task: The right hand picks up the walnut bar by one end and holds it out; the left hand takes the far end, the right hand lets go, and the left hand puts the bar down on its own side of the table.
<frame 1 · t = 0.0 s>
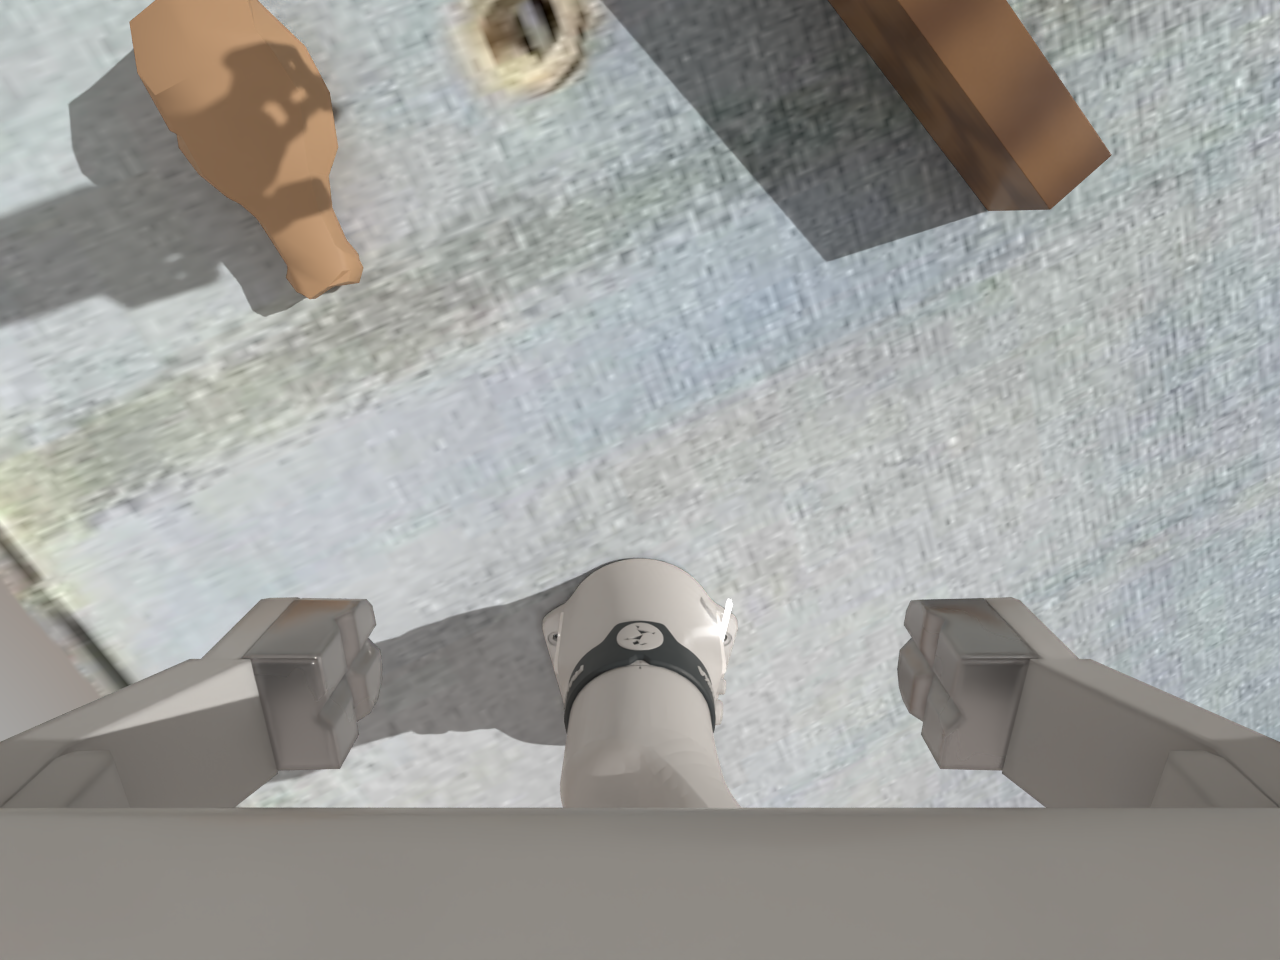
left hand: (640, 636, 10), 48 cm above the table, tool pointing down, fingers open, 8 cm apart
squash: (296, 157, 52), on the table
bar: (902, 38, 49), on the table
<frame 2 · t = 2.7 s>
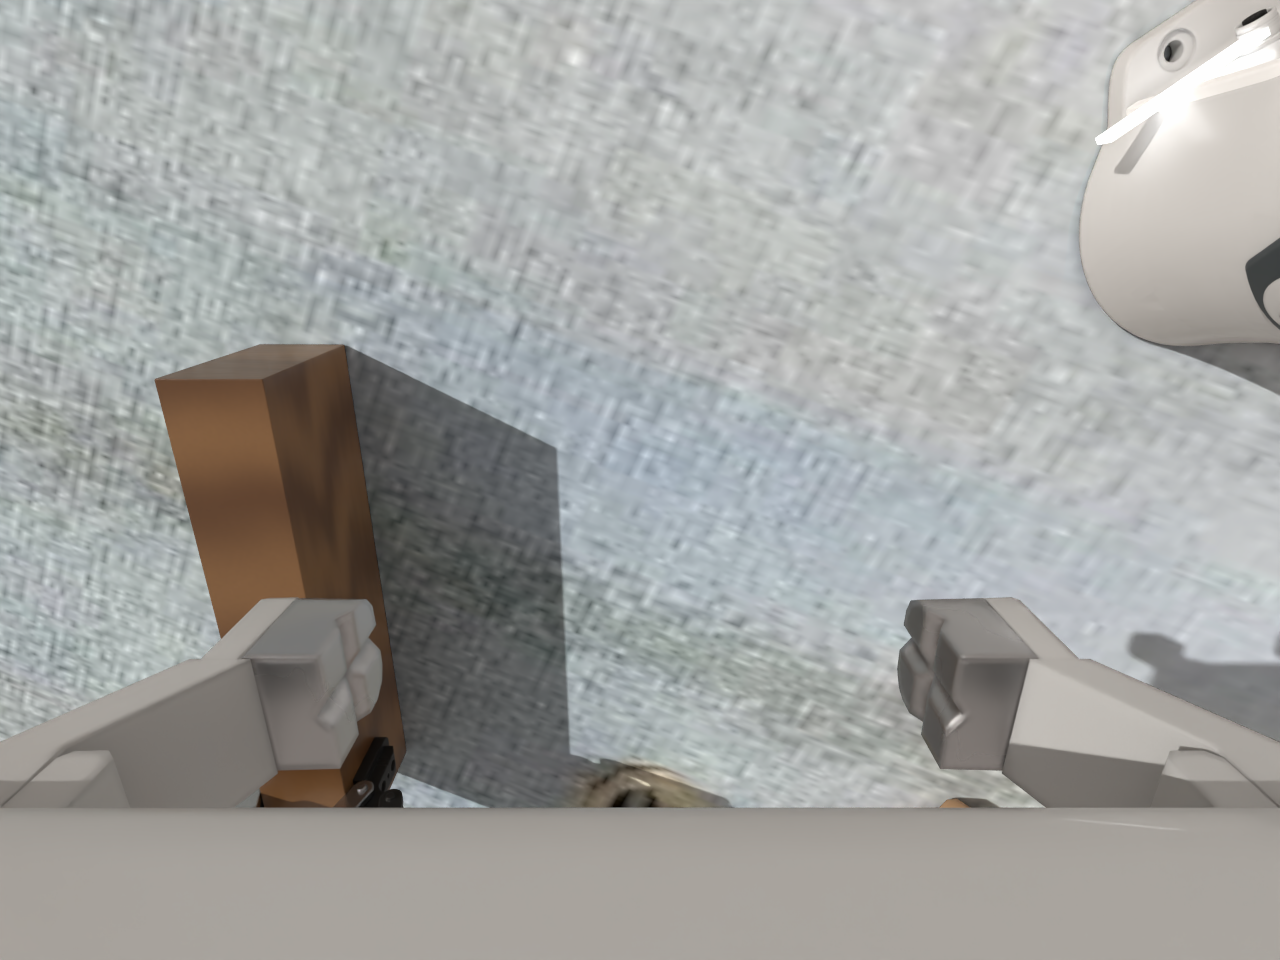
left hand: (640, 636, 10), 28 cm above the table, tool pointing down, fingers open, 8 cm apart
bar: (341, 571, 42), on the table, touching right hand
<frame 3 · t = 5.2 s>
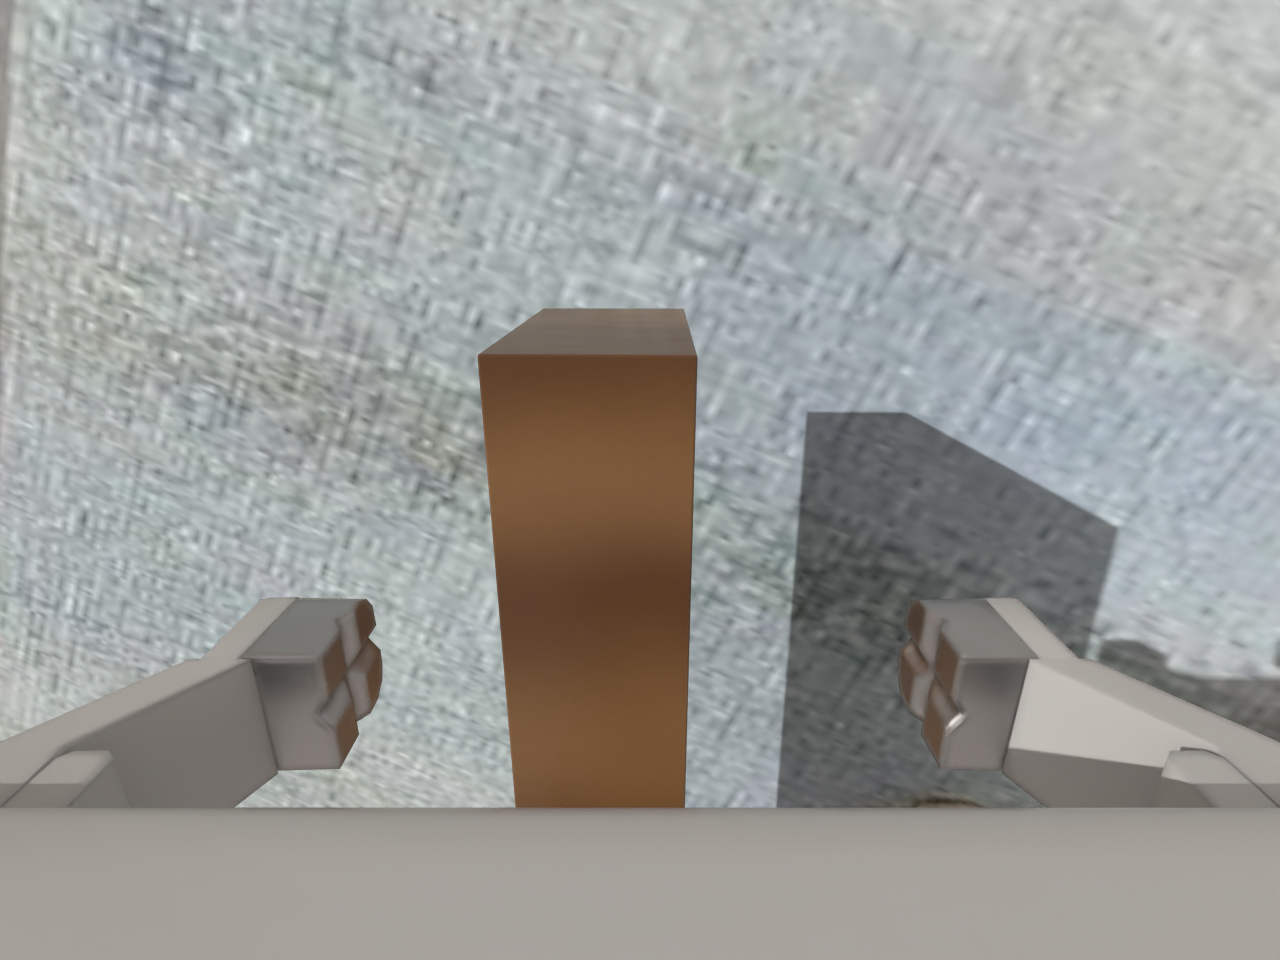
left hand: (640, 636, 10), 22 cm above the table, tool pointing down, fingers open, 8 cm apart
bar: (618, 667, 27), point 8 cm above the table, touching right hand
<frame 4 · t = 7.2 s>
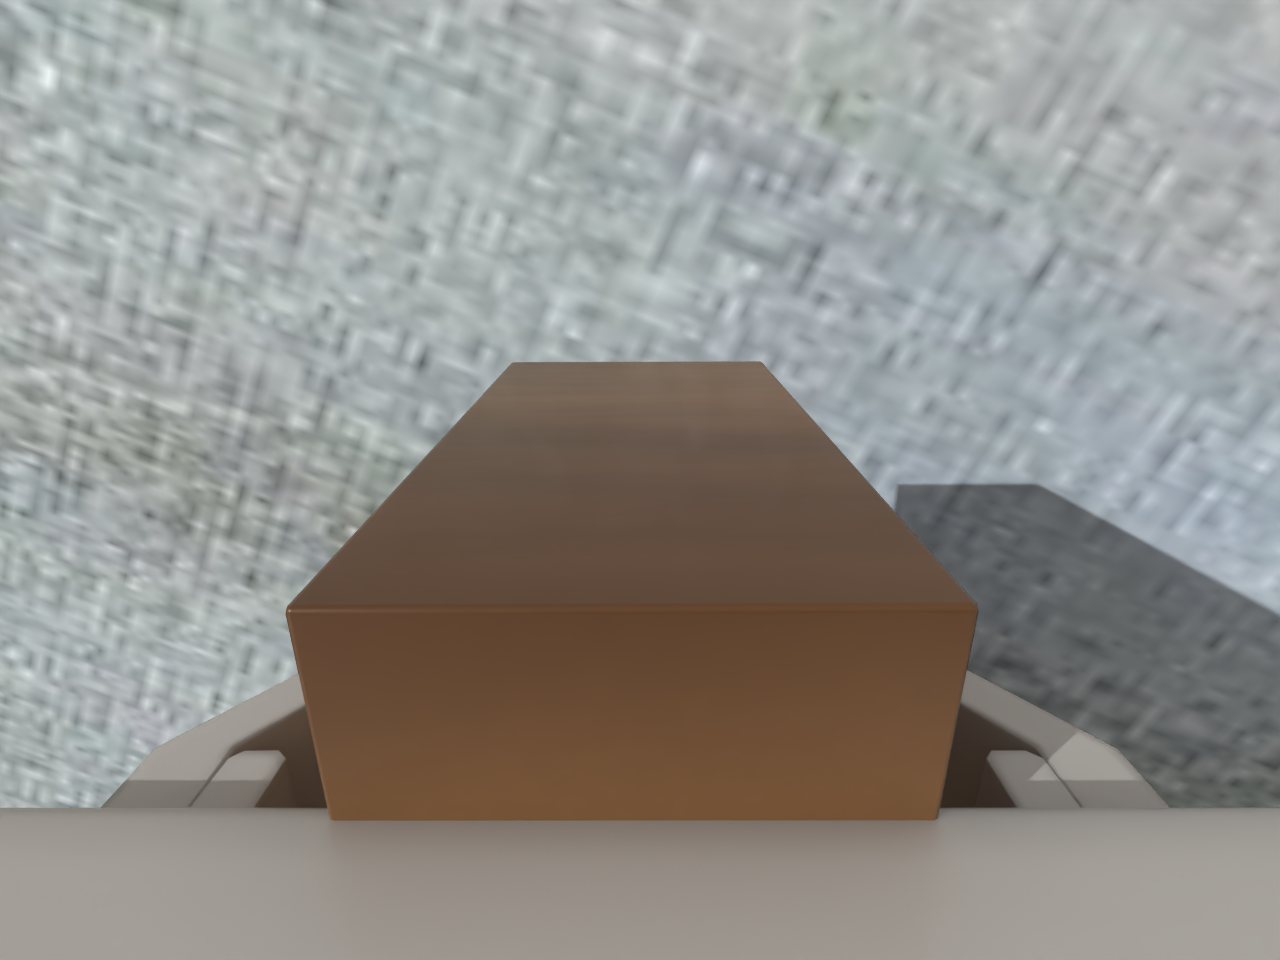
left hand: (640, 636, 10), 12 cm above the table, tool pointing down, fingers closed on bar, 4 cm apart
bar: (639, 905, 17), point 8 cm above the table, touching left hand, right hand
when the right hand's fingers open (12 cm above the table, at t = 8.1 s): bar stays where it is, held by the left hand.
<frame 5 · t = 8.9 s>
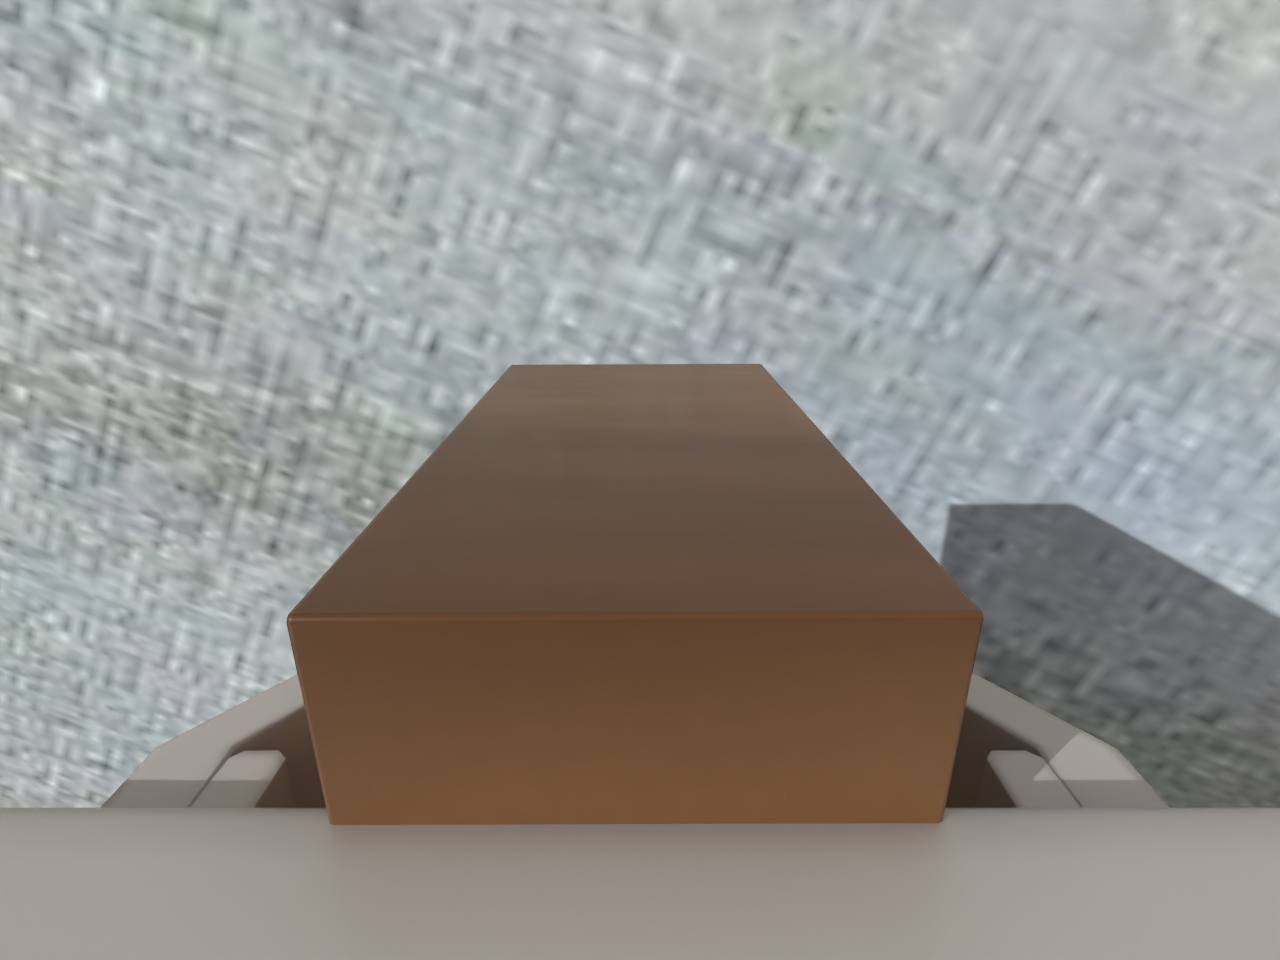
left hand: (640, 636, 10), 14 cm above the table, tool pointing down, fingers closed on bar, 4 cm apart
bar: (638, 907, 17), point 11 cm above the table, touching left hand
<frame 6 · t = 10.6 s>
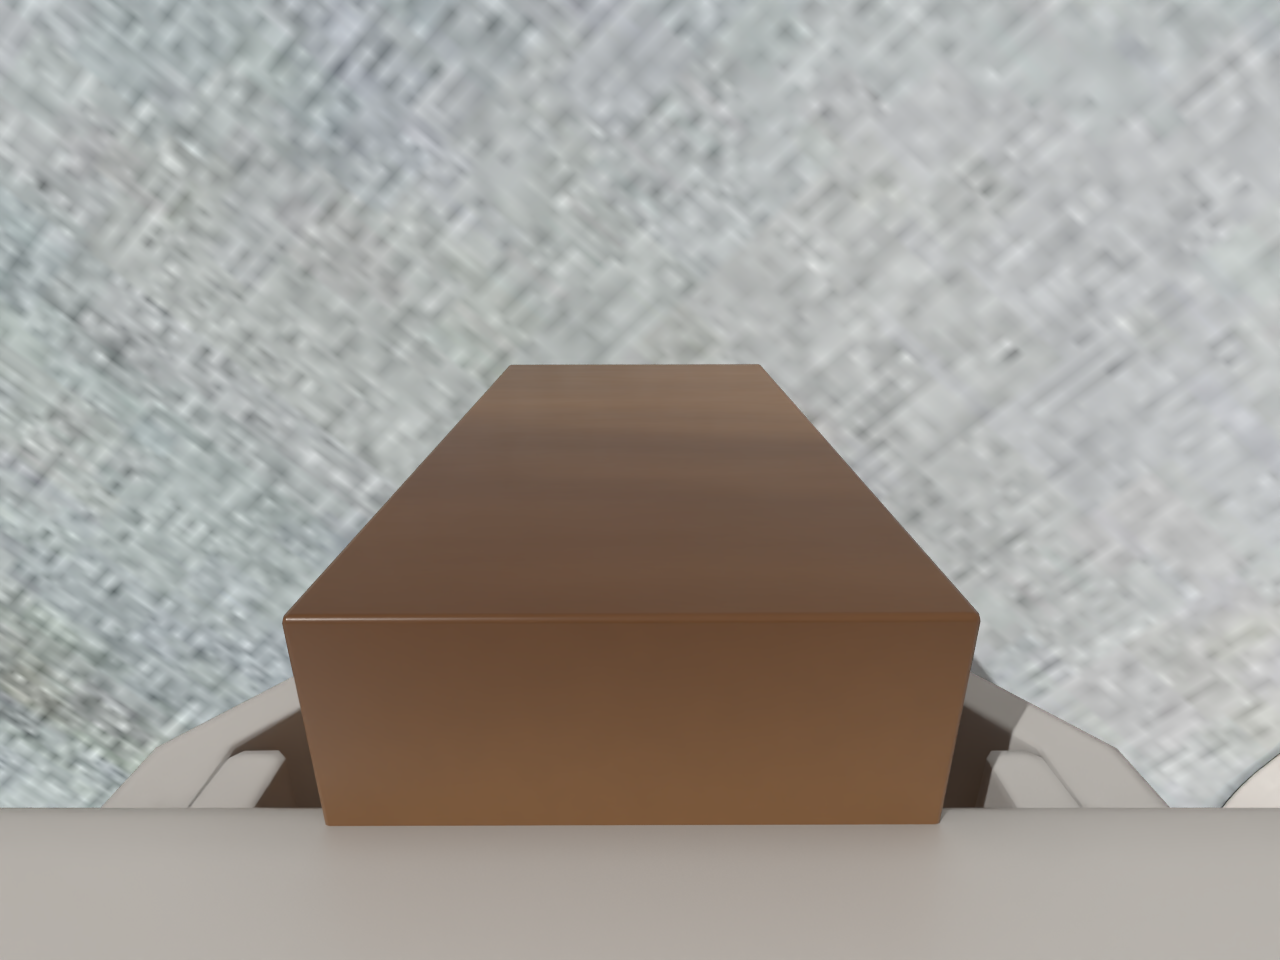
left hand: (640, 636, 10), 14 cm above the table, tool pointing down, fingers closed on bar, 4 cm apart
bar: (636, 908, 17), point 11 cm above the table, touching left hand
when the left hand's fingers open (4 cm above the table, at t = 14.3 s): bar stays where it is, on the table.
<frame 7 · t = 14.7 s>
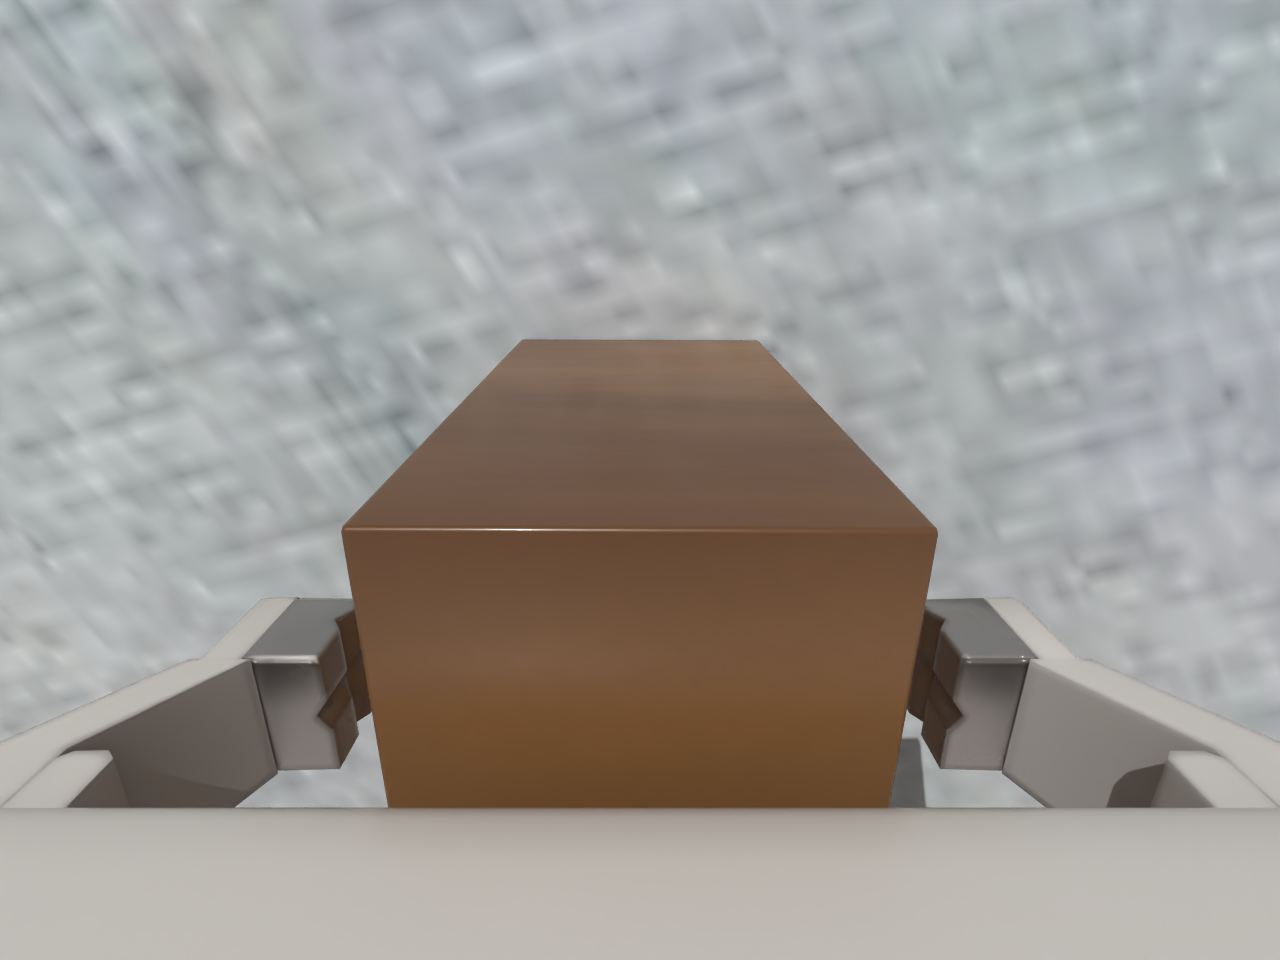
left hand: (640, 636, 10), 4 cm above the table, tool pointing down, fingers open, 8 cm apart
bar: (637, 863, 18), on the table
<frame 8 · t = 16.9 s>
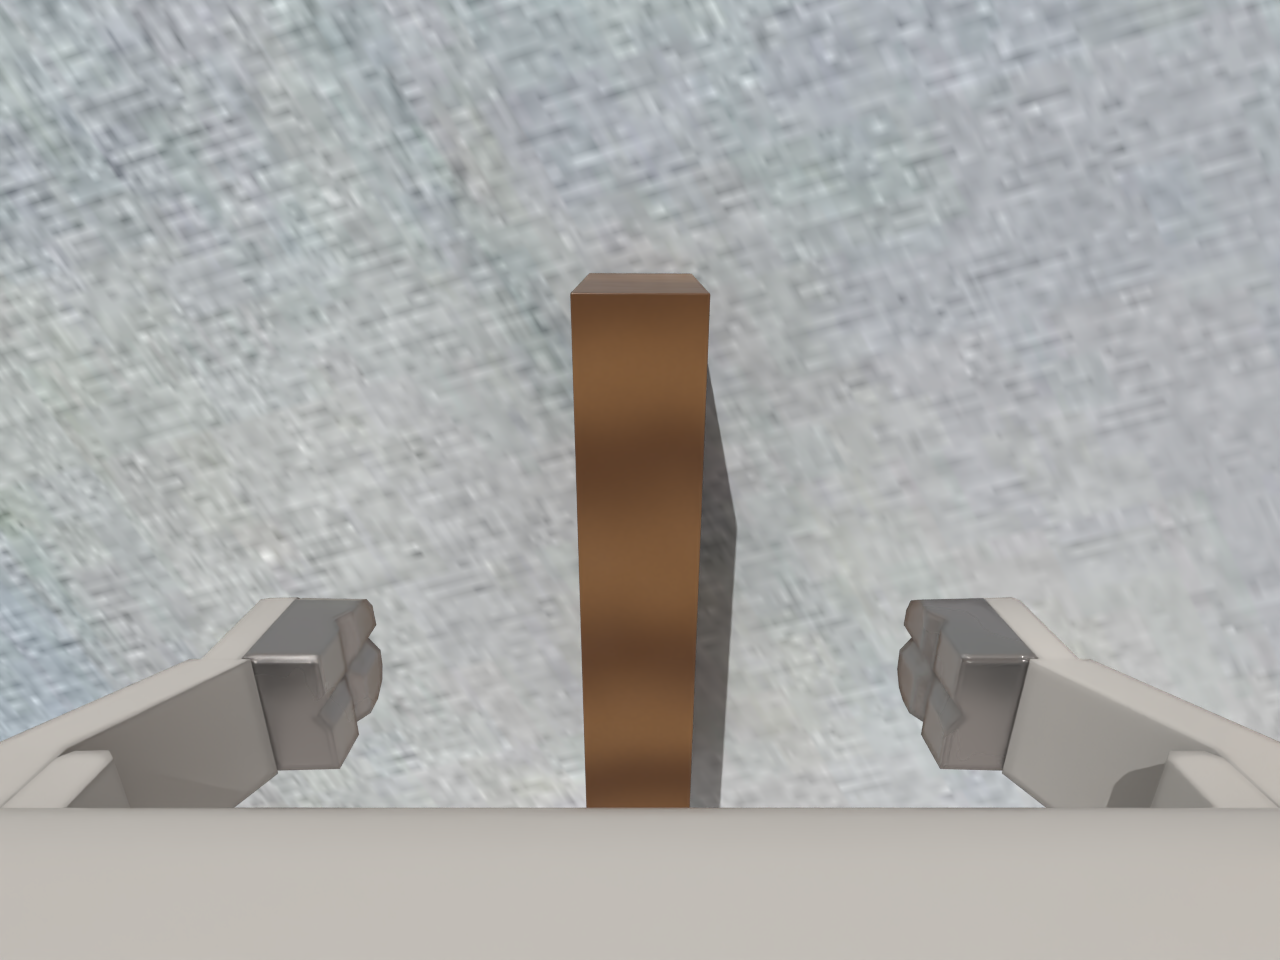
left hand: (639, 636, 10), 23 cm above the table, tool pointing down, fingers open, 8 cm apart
bar: (639, 552, 35), on the table
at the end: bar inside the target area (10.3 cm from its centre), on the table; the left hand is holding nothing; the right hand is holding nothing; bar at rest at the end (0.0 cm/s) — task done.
